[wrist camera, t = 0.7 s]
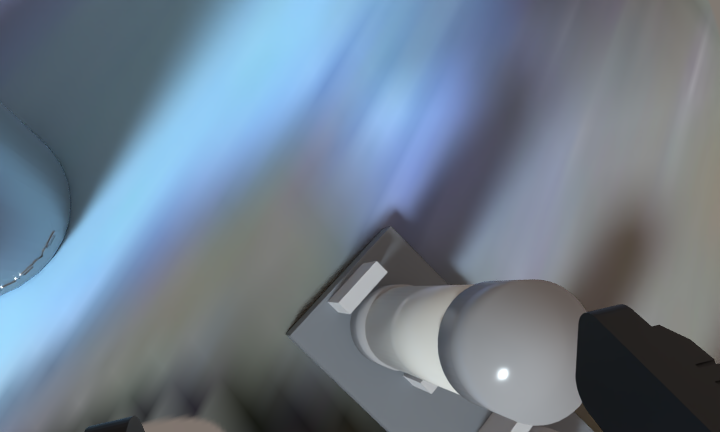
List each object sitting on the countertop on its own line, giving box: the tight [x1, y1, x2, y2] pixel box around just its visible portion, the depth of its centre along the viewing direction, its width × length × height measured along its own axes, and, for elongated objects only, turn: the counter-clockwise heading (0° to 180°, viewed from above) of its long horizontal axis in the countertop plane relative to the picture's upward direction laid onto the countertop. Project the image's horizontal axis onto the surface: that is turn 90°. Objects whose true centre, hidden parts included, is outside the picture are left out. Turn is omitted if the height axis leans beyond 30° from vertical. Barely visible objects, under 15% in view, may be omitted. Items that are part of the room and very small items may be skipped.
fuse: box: [350, 280, 587, 426], centre depth 23 cm, size 4×4×14 cm
